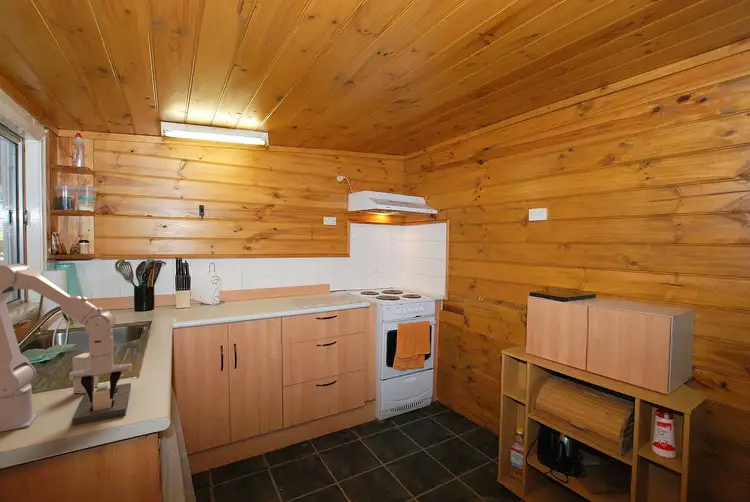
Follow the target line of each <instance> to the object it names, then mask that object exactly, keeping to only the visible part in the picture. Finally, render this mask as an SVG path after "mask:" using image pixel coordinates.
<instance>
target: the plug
mask: <svg viewBox="0 0 750 502" xmlns="http://www.w3.org/2000/svg"><path fill="white" fill-rule="evenodd" d="M111 406H112V399H110V385H108V384H105V385H98V387H97V388H95V389H94V391H93V411H96V410H101V409H107V408H112V407H111Z"/></svg>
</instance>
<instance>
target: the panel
mask: <svg viewBox="0 0 750 502" xmlns="http://www.w3.org/2000/svg"><path fill="white" fill-rule="evenodd" d="M131 389H132V382H129V383H123V384H122V383H121V384H116V387H115V390H114V397H113V399H112V406H111V408H107V409H101V410H96V411H93V402H91V403H90V398H89V396H88V393H87V391H86V392H85V394H83V396H82V399H81V401H80V403H79V404H78V406H77V409H76V411H75V413H74V415H73V416H72V427H73V426H79V425H84V424H88V423H95V422H98V421H99V422H101V421H105V420H110V419H114V418H119V417H120V418H121V417H125V416H126V415H127V410H128V406H129V405H128V404H129V401H130V395H131ZM116 393H117V394H116Z"/></svg>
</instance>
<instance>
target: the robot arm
mask: <svg viewBox="0 0 750 502" xmlns="http://www.w3.org/2000/svg"><path fill="white" fill-rule="evenodd" d="M15 290H31V291H34V292H35V293H37V294H38V295H41V296H43V297H44V298H45V299H48V300H50V301H52V302H53V303H55V304H57V305H59V306H60V310H61V313H62V314H64V315H66V316H67V317H69V318H71V319H73V320H74V321H75V322H78V323H79V324H81V325H82V326H84V330H85V331H86V332H87V333H88V353H89V368H88V369H83V370H79V371H73V370H72V371H70V372H69V373H68V374H69V375H68V376H69V379H68V380H69V381H73V380H75V379H79V378H81V384H82V386H83V387H84V388H85V390H86V391H87V393H88V396H89V398H90V403H91V402H93V391H94V376H98V377H99V376H105V375H110V376H109V386H110V399H113V397H114V390H115V387H116V385H118V382H119V380H120V378H121V375H122V373H129V372H132V370H133V369H132V363H120V364H114V335H113V331H114V329H113V327H114V325H115V324H116V317H115V315H114V314H113V313H112V312H111V311H109V310H103V308H102V307H97V306H96V305H94V304H93V303H91V302H90V301H88V300H89V298H88V297H86V296H81V295H73V296H71V295H70V294H68V293H67V292H66V291H65V290H63V289H62V288H60V287H59V286H57V285H56V284H54V283H53V282H52V281H50V280H49V279H47V278H46V277H44V276H43V275H42V274H41V273H39V272H38V271H37V270H35V269H34V268H30V267H29V266H28V265H26V264H24V263H21V262H16V263H11V264H4V265H3V264H0V433H1V432H5V431H10V430H17V429H22V428H27V427H30V426H31V425H32V423H33V422H34V421H35V419H36V417H37V416H38V413H37V412H34V413H33V399H32V398H33V393H32V384H31V382H32V381H33V380H35V378H36V375H37V371H36V369H35V367H34V366H33V365H32V364H31V363H30V362H29V358H28V357H27V356H25V355H24V354H22V353H21V349H20V346H19V343H18V339H17V336H16V333H15V328H14V325H13V323H12V319H11V316H10V315H11V314H10V312H9V308H8V305H7V302H6V300H7V298H8V297H10V295H11V294H12V293H13V292H14V291H15Z"/></svg>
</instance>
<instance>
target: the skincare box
mask: <svg viewBox="0 0 750 502" xmlns="http://www.w3.org/2000/svg"><path fill="white" fill-rule="evenodd" d="M88 368H89V352H83V353H81V354H78V355H76V356H73V357H72V372H73V371H79V370H83V369H88ZM72 385H73V387H72V388H73V389H72V393H73V394H74V393H85V392H86V390H85V388H84V387H83V386H82V384H81V378H79V379H75V380H72ZM97 386H99V376H94V388H95V387H97Z"/></svg>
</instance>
